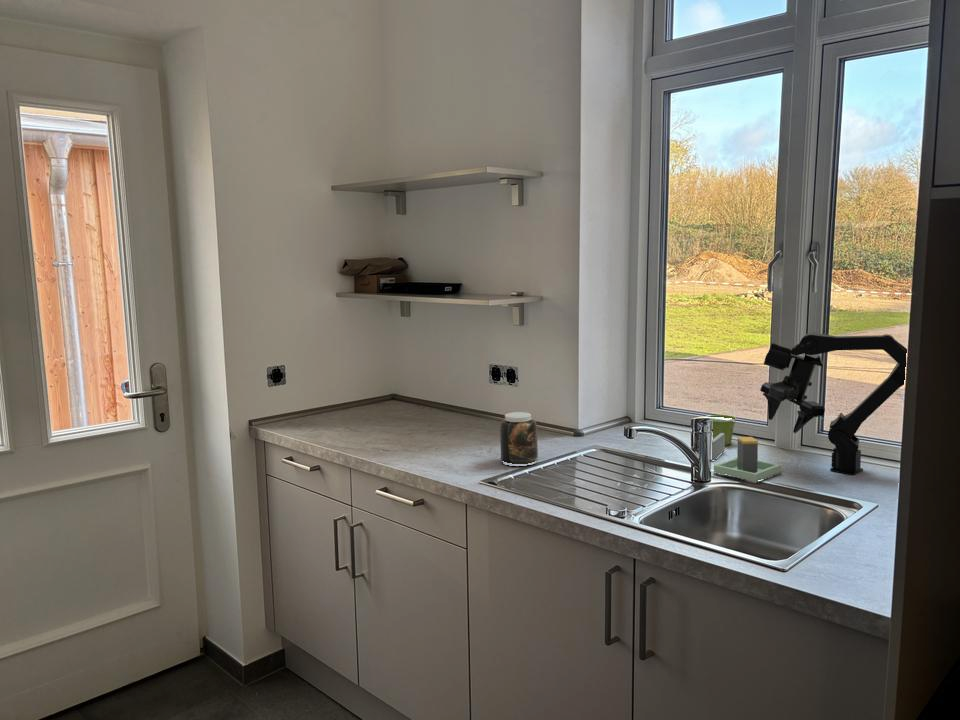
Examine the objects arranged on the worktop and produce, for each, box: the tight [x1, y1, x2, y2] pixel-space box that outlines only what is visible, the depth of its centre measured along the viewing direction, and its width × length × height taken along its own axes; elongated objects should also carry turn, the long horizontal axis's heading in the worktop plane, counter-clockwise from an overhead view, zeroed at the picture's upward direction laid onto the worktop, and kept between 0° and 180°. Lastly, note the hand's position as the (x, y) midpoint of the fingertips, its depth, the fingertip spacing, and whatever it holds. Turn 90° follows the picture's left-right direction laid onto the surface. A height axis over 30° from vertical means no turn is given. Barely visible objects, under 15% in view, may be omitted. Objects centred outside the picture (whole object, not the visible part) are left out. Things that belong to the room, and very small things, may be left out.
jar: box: [499, 411, 539, 464], centre depth 230 cm, size 12×12×15 cm
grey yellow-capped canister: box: [736, 436, 759, 473], centre depth 209 cm, size 4×5×10 cm
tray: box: [713, 457, 782, 484], centre depth 210 cm, size 13×13×2 cm
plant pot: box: [707, 414, 737, 446], centre depth 243 cm, size 9×9×9 cm
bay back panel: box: [712, 433, 726, 461], centre depth 228 cm, size 1×12×6 cm, turn 147°
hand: (782, 426), depth 216 cm, fingers open, 9 cm apart
